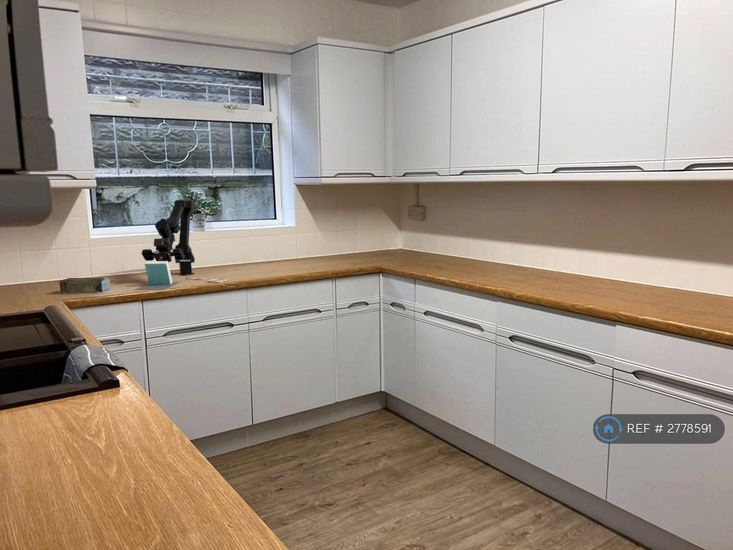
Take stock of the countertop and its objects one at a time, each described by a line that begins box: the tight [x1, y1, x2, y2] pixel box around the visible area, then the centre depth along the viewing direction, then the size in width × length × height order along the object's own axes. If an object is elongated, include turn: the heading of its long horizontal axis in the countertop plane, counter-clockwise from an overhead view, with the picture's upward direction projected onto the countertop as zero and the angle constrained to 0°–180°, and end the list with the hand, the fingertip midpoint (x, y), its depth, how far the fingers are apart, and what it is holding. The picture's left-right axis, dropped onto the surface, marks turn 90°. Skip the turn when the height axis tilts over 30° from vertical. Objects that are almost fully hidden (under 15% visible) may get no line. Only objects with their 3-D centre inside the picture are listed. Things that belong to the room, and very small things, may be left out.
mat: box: [134, 281, 181, 291], centre depth 270 cm, size 20×14×1 cm
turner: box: [185, 277, 229, 284], centre depth 284 cm, size 22×7×1 cm, turn 69°
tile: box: [144, 260, 173, 285], centre depth 271 cm, size 2×10×11 cm, turn 88°
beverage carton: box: [58, 277, 111, 294], centre depth 259 cm, size 8×19×7 cm, turn 89°
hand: (159, 268), depth 272 cm, fingers closed
